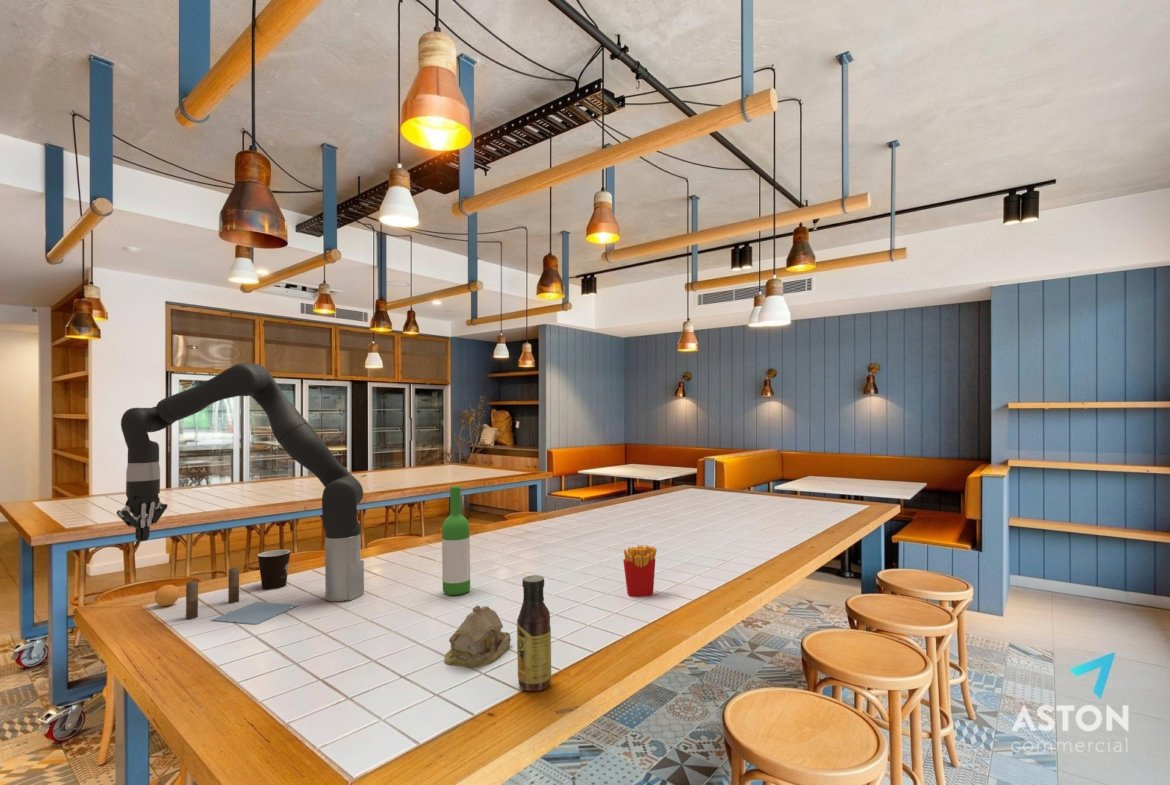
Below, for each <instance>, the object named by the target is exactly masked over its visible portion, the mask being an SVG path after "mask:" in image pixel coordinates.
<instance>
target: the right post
mask: <svg viewBox="0 0 1170 785" xmlns="http://www.w3.org/2000/svg"><path fill="white" fill-rule="evenodd" d="M227 575H228V594H227V596H228V597H227V598H228V599H227V601H228V602H229V603H228V602H227V603H228V604H235V603H234V602H236V603H238V602H239V601H240V568H239V567H233V568H232V567H231V568H229V569H228V574H227Z"/></svg>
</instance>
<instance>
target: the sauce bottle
mask: <svg viewBox="0 0 1170 785" xmlns="http://www.w3.org/2000/svg"><path fill="white" fill-rule="evenodd" d="M544 577H545V576H543V575H539V574H538V575H537V574H532V575H526V576H524V577H523V578H522V583H521V584H522V588H523V589H522V590H523V592H522V593H523V599H522V604H521V608H520V611H519V615H518V617H517V621H516V636H517V637H516V640H517V641H516V646H517V648H516V649H517V651H516V652H517V679H518V680H517V681H518V686H519V687H520V688H521V689H522V690H523V691H526V692H537V691H539V692H540V691H544V690H546V689H547V688H548V687H549V686H550V685H551V681H552V634H551V633H552V632H551V631H552V629H551V614H550V611H549V609H548V606H546V603H545V602H544V601H545V598H544V587H545V578H544Z"/></svg>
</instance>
